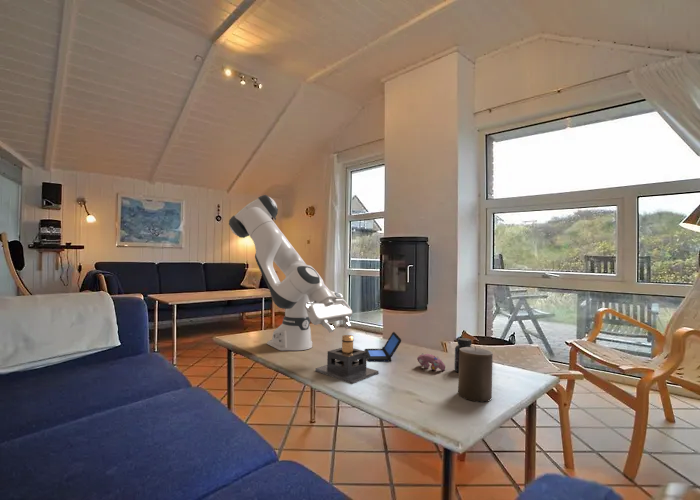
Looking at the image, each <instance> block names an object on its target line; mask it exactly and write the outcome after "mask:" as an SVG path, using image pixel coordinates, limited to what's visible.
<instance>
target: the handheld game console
mask: <svg viewBox="0 0 700 500" xmlns="http://www.w3.org/2000/svg"><path fill="white" fill-rule="evenodd" d="M401 342H402V338H400V336H399V335H398V334H397V332H395V331H393V332H392V333H391V334H390V336H389V338H388V339H387V341H386V343H385V344H384V346H382V347H381V348H365V349H364V351H366V352H367V361H369V362H381V363H382V362H392V357H393V355H394V354H395V352H396V351H397V349H398V347H399V346H400V344H402V343H401Z"/></svg>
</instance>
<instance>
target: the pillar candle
mask: <svg viewBox="0 0 700 500" xmlns="http://www.w3.org/2000/svg"><path fill="white" fill-rule="evenodd" d="M493 357H494V355H493V352H492V350H489V349H485V348H480V347H476V346H471V347H463V348H460V350H459V373H458V381H457V382H458V383H457V385H458V386H457V393H458V395H459V396H460V397H461V398H463V399H466V400H469V401H472V402H476V401H481V402H480V403H483V402H482V401H487V402H489V401H488V400H490V399H491V398H492V397H493V395H492V394H493ZM491 400H492V399H491ZM491 400H490V401H491Z"/></svg>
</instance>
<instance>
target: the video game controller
mask: <svg viewBox="0 0 700 500" xmlns="http://www.w3.org/2000/svg"><path fill="white" fill-rule="evenodd" d="M417 362H418V363H419V364H420V365H421V366H422V367H424V369H429V367H430V369H431V370H432V371H437V369H439V370H441V371H445V370H446V365H445V363H444V362H443V361H442V359H441V358H440V357H439V356H436V355H433V354H430V353H421V354H420V355H418V356H417Z"/></svg>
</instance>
